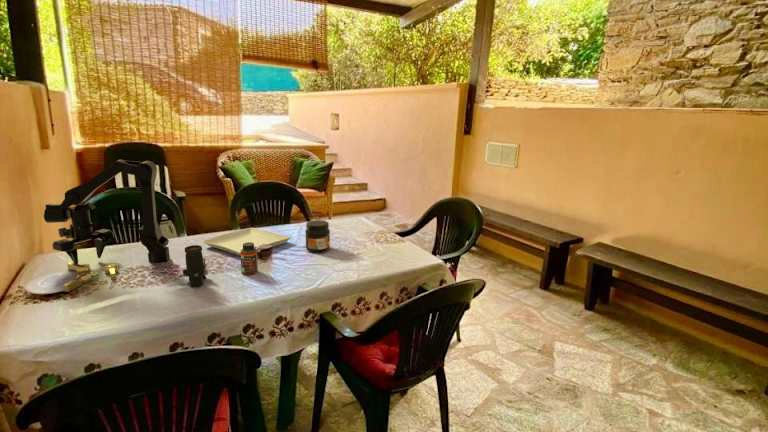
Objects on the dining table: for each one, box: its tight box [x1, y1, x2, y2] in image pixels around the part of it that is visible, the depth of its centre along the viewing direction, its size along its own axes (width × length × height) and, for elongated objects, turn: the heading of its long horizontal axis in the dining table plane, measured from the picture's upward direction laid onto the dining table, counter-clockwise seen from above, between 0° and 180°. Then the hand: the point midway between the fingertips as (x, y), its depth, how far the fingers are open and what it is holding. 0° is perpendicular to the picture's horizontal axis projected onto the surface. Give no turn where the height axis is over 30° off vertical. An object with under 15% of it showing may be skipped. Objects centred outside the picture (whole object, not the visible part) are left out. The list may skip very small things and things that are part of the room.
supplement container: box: [304, 219, 331, 254], centre depth 185 cm, size 10×10×12 cm
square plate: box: [202, 227, 292, 256], centre depth 189 cm, size 27×27×4 cm
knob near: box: [104, 263, 119, 281], centre depth 152 cm, size 10×4×3 cm, turn 35°
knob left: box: [62, 273, 93, 293], centre depth 143 cm, size 10×4×3 cm, turn 176°
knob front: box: [66, 261, 92, 275], centre depth 154 cm, size 10×4×3 cm, turn 66°
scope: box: [182, 244, 209, 289], centre depth 148 cm, size 8×14×10 cm
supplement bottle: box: [240, 242, 259, 276], centre depth 159 cm, size 6×6×11 cm
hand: (88, 261), depth 160 cm, fingers open, 8 cm apart
